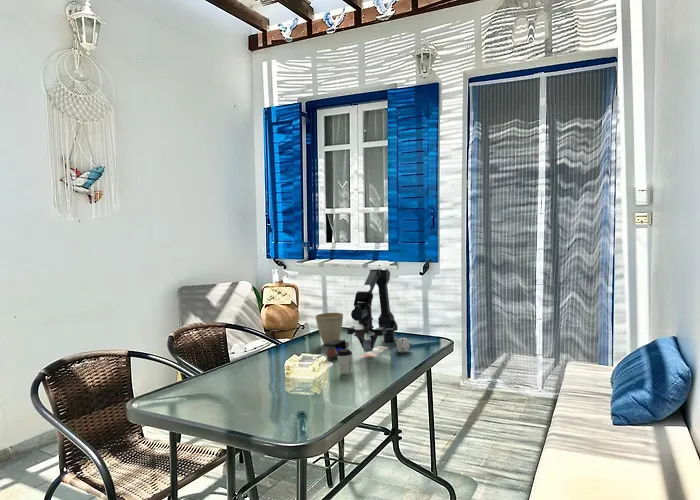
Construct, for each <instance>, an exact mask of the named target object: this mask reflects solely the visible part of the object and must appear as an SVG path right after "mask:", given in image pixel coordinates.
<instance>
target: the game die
mask: <svg viewBox="0 0 700 500" xmlns="http://www.w3.org/2000/svg"><path fill="white" fill-rule="evenodd" d="M396 338H397V340H396V341H395V345H394V347H396V350H397V352H398V354H400V353H408V354H409V353H410V348H411V346H412V343H410V341H409V339H408V338H409V336H406V337H399V336H396Z"/></svg>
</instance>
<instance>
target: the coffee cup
mask: <svg viewBox="0 0 700 500" xmlns="http://www.w3.org/2000/svg"><path fill="white" fill-rule="evenodd" d="M336 357H337V362H338V368H339V373H341V374H340V375H342V374H347V375H350V374H351V373H352V359H353V358H352V357H353V352H352V351H351V350H350V349H349V348H346V349H340V350H339V352H337V354H336Z"/></svg>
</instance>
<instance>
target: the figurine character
mask: <svg viewBox="0 0 700 500" xmlns="http://www.w3.org/2000/svg"><path fill="white" fill-rule="evenodd" d="M322 346H323V347H324V346H327V347H328V346H331V347H329V348H328V349H327V350H326V352H325V353H326V356H327V357H328V358H330V359H334V358H336V357H337V355H336V354H337V352H339V350H340V349H349V347H350V343H349V342H348V341H346V339H339V340H333V341H331V342H328V343H326V344H324V343H323V345H322ZM332 346H333V347H332Z"/></svg>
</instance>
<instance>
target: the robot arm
mask: <svg viewBox="0 0 700 500" xmlns="http://www.w3.org/2000/svg"><path fill="white" fill-rule="evenodd" d="M367 275H368V276H367V278H366V280H365V282H364V284H363V286H361V287H360V288H359V289H358V290H357V291H356V294H355V298H354V301H353V306H354V308H353V309H352V310H351V313H350V317H351V318H352V319H353V320H354V321H356V322H358V324H356V325H354V326H353V325H352V326H350V327H348V328H347V330H346V331H347V335H353V336H354V337H356V338H357V339H358V341H359V343H360V345H361V347H362V349H363V342H364V339H366V338H365V337H366V336H365V335H366V334H371V335H369V339H371V349H374V348H375V346H376V345H375V344H376V341H377V339H378V337H382V336H383V340H382V341H381V343H389V344H393V343H396V342H397V340H398V338H397V339H396V337H395V332H396V331H398V323H397V321H396V320H395V316H394V314H393V313H392V312H391V308H390V307H391V305H390V297H389V290H388V289H389V288H388V284H389V282H390V278H391V272H390V271H389V269H388V268H378V267H377V268H370V269H369V273H368V274H367ZM375 286H377V288H378V296H379V305H380V307H379V308H380V315H379V316H378V318H377V320H378V327H376V328H374V325H373V320H374V317H372V315H373V314H372V306H373V304H372V302H373V299H374V293H373V291H374V289H375Z"/></svg>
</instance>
